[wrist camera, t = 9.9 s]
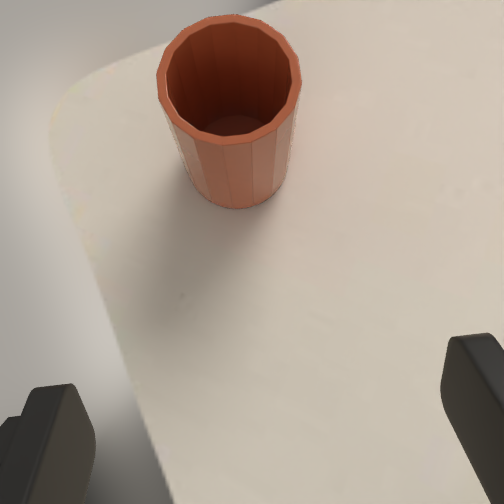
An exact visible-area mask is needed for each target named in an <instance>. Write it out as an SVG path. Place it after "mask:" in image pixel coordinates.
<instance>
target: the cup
mask: <svg viewBox="0 0 504 504" xmlns="http://www.w3.org/2000/svg"><path fill="white" fill-rule="evenodd" d="M156 77H157V89H158V99H159V102H160V104H161V107H162V109H163V112H164V114H165V117H166V120H167V122H168V125H169V127H170V130H171V132H172V135H173V137H174V140H175V142H176V145H177V148H178V150H179V153H180V155H181V158H182V160H183V163H184V165H185V168H186V171H187V173H188V175H189V176H190V179H191V181H192V183H193V185H194V186H195V188H196V189H197V190H198V191H199V193H200V194H201V195H203V196H204V197H205V198H206V199H208V200H209V201H211V202H213V203H215V204H217V205H219V206H222V207H227V208H235V209H238V208H247V207H252V206H255V205H257V204H260V203H262V202H263V201H265V200H267V199H268V198H269V197H271V196H272V195H273V194H274V193H275V192H276V191H277V190H278V188H279V187H280V186H281V184H282V182H283V180H284V178H285V175H286V172H287V167H288V163H289V159H290V153H291V147H292V141H293V135H294V129H295V123H296V117H297V111H298V104H299V98H300V92H301V86H302V79H301V73H300V66H299V59H298V57H297V55H296V54H295V52H294V50H293V49H292V47H291V46H290V44H289V43H288V41H287V40H286V38H285V37H284V36H283V35H282V34H281V33H279V32H278V31H276V30H275V29H274V28H272V27H271V26H269V25H268V24H266V23H265V22H263V21H261V20H258V19H254V18H249V17H245V16H241V15H237V14H236V15H235V14H231V15H223V16H213V17H208V18H205V19H203V20H201V21H199V22H197V23H195V24H193V25H191V26H189V27H187V28H185V29H184V30H182V31H181V32H180V33H179V34H178V35H177V36H176V38H175V39H174V40H173V41H172V42H171V43H170V44H169V45H168V46H167V47H166V49H165V51H164V53H163V56H162V59H161V62H160V65H159V67H158V70H157V74H156Z"/></svg>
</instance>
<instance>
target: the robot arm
mask: <svg viewBox="0 0 504 504" xmlns="http://www.w3.org/2000/svg"><path fill="white" fill-rule="evenodd" d="M440 392H441V399H442V403H443V407H444V410H445V412H446V415H447V417H448V419H449V421H450V423H451V425H452V427H453V429H454V431H455V433H456V435H457V437H458V439H459V441H460V443H461V445H462V447H463V449H464V451H465V453H466V455H467V457H468V459H469V461H470V463H471V465H472V467H473V469H474V471H475V473H476V475H477V477H478V479H479V481H480V483H481V485H482V487H483V489H484V491H485V493H486V495H487V497H488V499H489V501H490V503H491V504H504V350H503V348H502V347H501V345H500V344H499V343H498V341H497V340H496V339H495V337H494V336H493V335H491V334H490V333H481V334H472V335H464V336H455V337H451V338H450V340H449V342H448V347H447V352H446V358H445V363H444V368H443V374H442V379H441V385H440ZM95 449H96V441H95V433H94V429H93V426H92V424H91V421H90V419H89V417H88V415H87V412H86V410H85V407H84V405H83V403H82V400H81V398H80V396H79V393H78V391H77V389H76V387H75V386H74V385H73V384H62V385H54V386H46V387H37V388H34V389H33V390H32V391H31V392H30V394H29V396H28V399H27V401H26V404H25V406H24V409H23V411H22V414H21V416H15V417H8V418H7V420H6V421H5V422H4V423H3V424H2V425H1V426H0V504H84V503H85V498H86V494H87V489H88V485H89V480H90V476H91V472H92V467H93V463H94V458H95Z"/></svg>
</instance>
